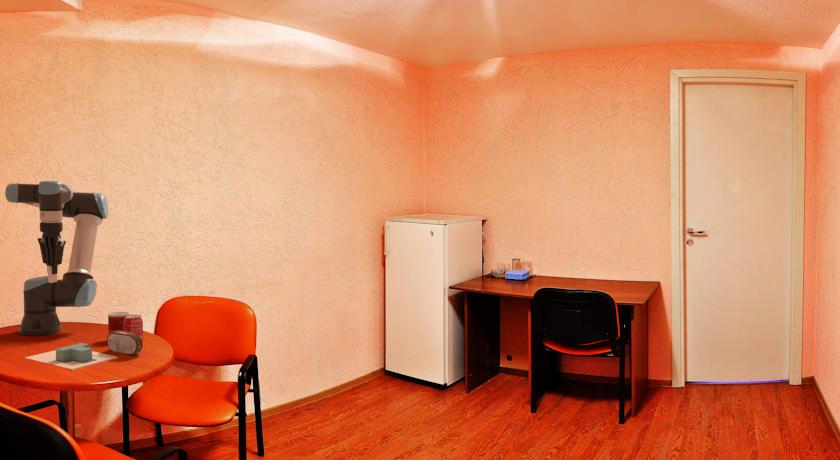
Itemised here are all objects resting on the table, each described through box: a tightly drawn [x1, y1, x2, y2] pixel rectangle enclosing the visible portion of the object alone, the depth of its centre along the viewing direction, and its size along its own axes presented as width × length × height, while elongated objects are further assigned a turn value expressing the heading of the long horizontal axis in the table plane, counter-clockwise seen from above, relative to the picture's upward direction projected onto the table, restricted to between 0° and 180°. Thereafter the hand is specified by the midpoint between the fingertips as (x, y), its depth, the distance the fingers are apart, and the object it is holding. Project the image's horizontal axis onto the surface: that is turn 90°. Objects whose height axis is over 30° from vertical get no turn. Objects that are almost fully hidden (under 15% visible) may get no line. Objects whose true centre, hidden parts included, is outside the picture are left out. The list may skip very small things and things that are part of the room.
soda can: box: [123, 314, 144, 343], centre depth 248 cm, size 7×7×12 cm
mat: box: [24, 349, 118, 371], centre depth 229 cm, size 18×26×1 cm
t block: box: [55, 342, 93, 362], centre depth 227 cm, size 10×10×4 cm
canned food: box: [107, 311, 130, 336], centre depth 256 cm, size 8×8×11 cm
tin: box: [106, 330, 143, 356], centre depth 238 cm, size 15×3×8 cm, turn 71°
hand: (52, 282), depth 241 cm, fingers closed
